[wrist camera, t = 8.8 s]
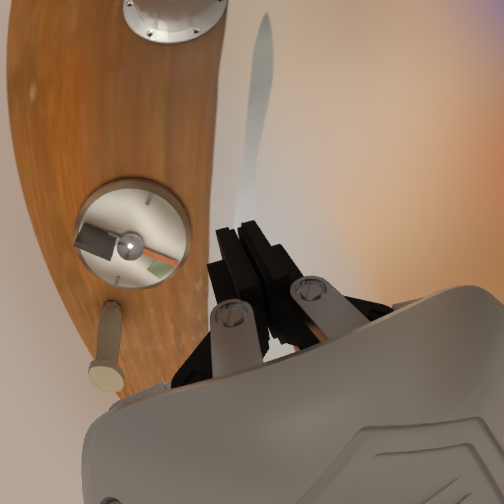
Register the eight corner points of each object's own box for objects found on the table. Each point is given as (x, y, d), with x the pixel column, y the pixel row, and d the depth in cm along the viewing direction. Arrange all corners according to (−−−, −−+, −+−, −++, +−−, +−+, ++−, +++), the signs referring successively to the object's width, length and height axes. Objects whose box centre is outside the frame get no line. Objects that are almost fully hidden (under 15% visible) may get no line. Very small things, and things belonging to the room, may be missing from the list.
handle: (102, 319, 45) (94, 391, 33) (96, 291, 42) (83, 365, 29) (127, 320, 46) (126, 392, 34) (124, 292, 43) (119, 366, 31)
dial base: (164, 294, 46) (165, 304, 43) (67, 262, 37) (63, 271, 35) (210, 204, 40) (213, 212, 38) (98, 158, 32) (93, 163, 30)
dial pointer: (183, 252, 40) (186, 274, 35) (171, 271, 41) (174, 295, 36) (88, 211, 32) (78, 230, 28) (80, 234, 33) (70, 255, 29)
